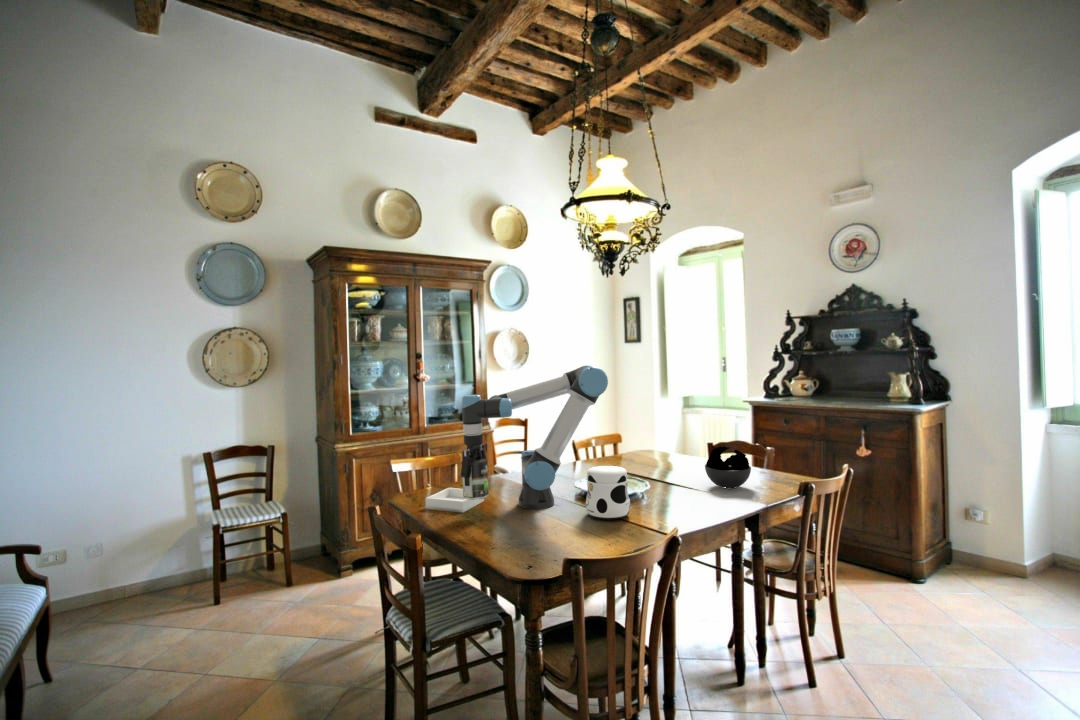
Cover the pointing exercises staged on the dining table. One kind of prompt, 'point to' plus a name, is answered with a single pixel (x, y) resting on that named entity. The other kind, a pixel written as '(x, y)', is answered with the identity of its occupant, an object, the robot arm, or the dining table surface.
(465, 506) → the bin
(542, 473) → the robot arm
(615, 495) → the milk container
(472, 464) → the coffee can
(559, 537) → the dining table surface
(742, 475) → the coal bowl
